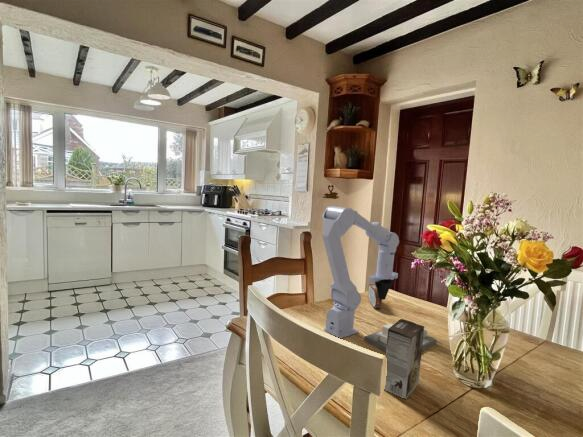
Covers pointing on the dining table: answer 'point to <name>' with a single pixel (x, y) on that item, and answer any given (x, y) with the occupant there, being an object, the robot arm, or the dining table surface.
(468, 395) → the dining table surface
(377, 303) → the clock
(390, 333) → the coffee box
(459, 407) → the dining table surface
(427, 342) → the switch plate
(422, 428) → the dining table surface
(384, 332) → the switch tab
